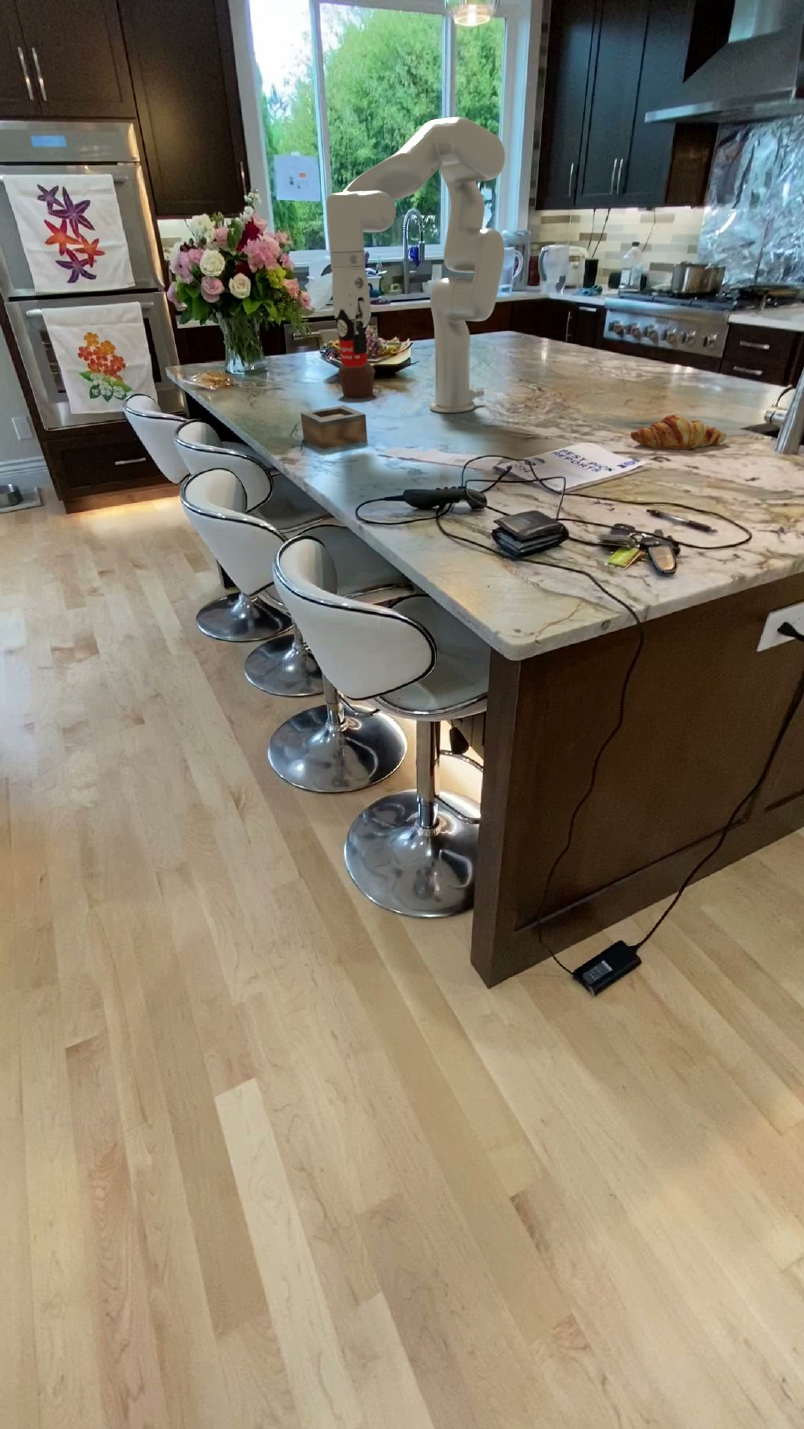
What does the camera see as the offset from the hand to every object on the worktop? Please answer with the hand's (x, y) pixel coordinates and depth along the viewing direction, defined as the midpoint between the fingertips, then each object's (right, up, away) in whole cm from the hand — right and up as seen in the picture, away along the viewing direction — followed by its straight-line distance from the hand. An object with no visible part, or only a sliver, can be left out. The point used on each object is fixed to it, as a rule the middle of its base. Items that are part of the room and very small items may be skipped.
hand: (353, 350), depth 170 cm
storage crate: (-5, -16, +12) cm, 21 cm away
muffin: (-2, +13, +53) cm, 55 cm away
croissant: (+75, -24, -3) cm, 78 cm away
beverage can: (0, -3, +2) cm, 3 cm away
